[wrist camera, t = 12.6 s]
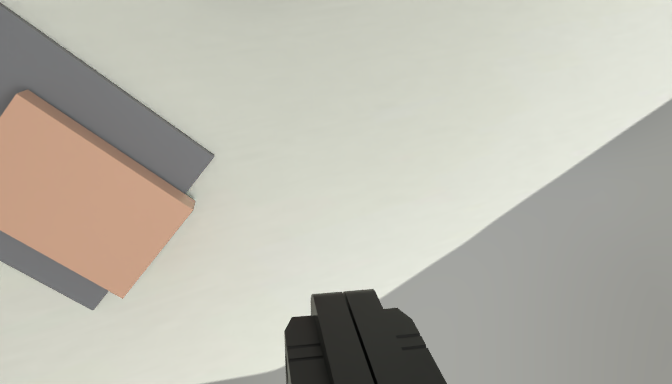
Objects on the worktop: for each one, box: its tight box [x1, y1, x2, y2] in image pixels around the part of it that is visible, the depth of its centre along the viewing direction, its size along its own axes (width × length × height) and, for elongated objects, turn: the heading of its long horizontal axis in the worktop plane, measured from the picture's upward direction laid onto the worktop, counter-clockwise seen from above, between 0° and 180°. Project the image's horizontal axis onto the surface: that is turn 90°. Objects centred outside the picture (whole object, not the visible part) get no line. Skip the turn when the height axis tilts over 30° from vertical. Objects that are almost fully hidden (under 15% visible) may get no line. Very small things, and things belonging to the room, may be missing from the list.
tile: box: [0, 89, 195, 299], centre depth 41 cm, size 2×10×15 cm
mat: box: [0, 3, 214, 310], centre depth 42 cm, size 20×18×1 cm
